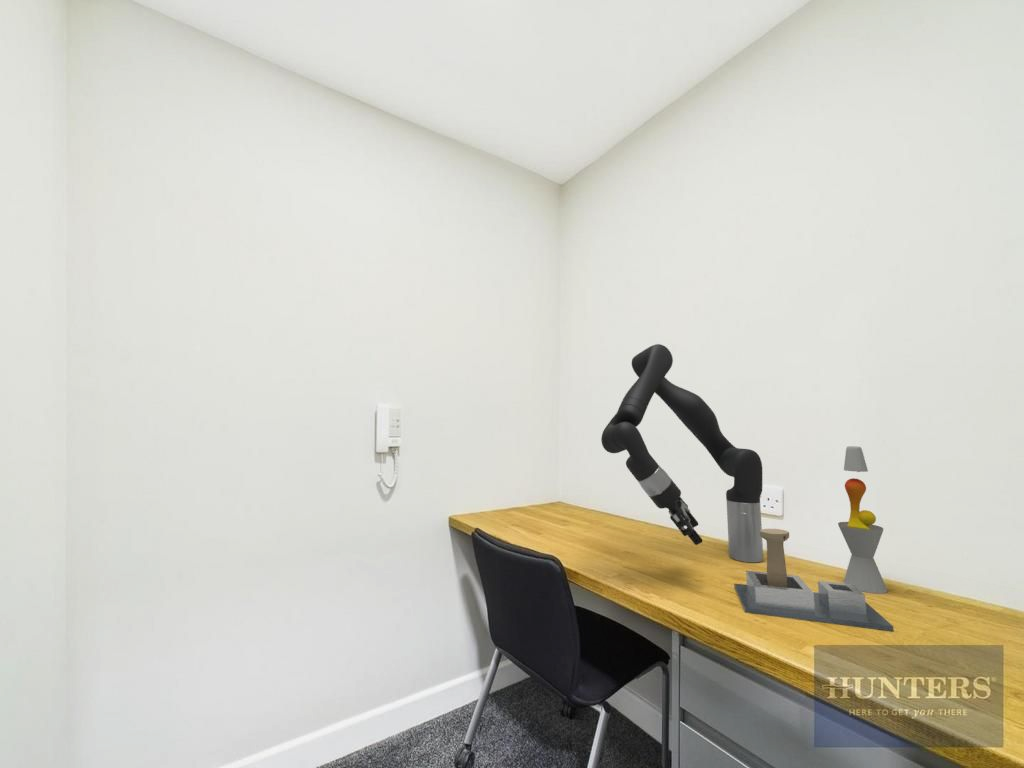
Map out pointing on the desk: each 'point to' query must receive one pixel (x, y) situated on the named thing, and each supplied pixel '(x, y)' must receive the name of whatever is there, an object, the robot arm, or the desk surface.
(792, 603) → the socket plate
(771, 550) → the handle
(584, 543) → the desk surface
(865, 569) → the stacked pieces
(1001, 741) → the desk surface
